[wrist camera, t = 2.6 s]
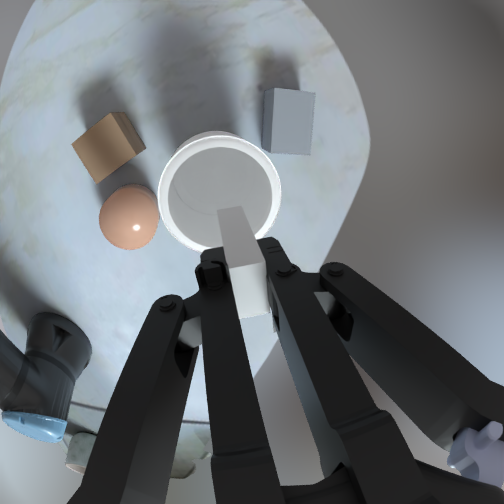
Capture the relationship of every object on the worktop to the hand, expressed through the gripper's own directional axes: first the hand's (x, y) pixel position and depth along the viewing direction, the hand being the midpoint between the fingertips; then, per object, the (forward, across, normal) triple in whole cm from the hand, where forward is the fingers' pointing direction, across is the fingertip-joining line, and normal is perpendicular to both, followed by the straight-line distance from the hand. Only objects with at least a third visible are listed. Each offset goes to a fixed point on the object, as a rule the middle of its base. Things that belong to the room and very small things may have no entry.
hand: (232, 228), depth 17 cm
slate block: (+21, +10, +5) cm, 24 cm away
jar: (+21, 0, 0) cm, 21 cm away
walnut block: (+21, -12, +6) cm, 25 cm away
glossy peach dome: (+21, -12, -4) cm, 25 cm away
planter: (+20, -62, -77) cm, 101 cm away
